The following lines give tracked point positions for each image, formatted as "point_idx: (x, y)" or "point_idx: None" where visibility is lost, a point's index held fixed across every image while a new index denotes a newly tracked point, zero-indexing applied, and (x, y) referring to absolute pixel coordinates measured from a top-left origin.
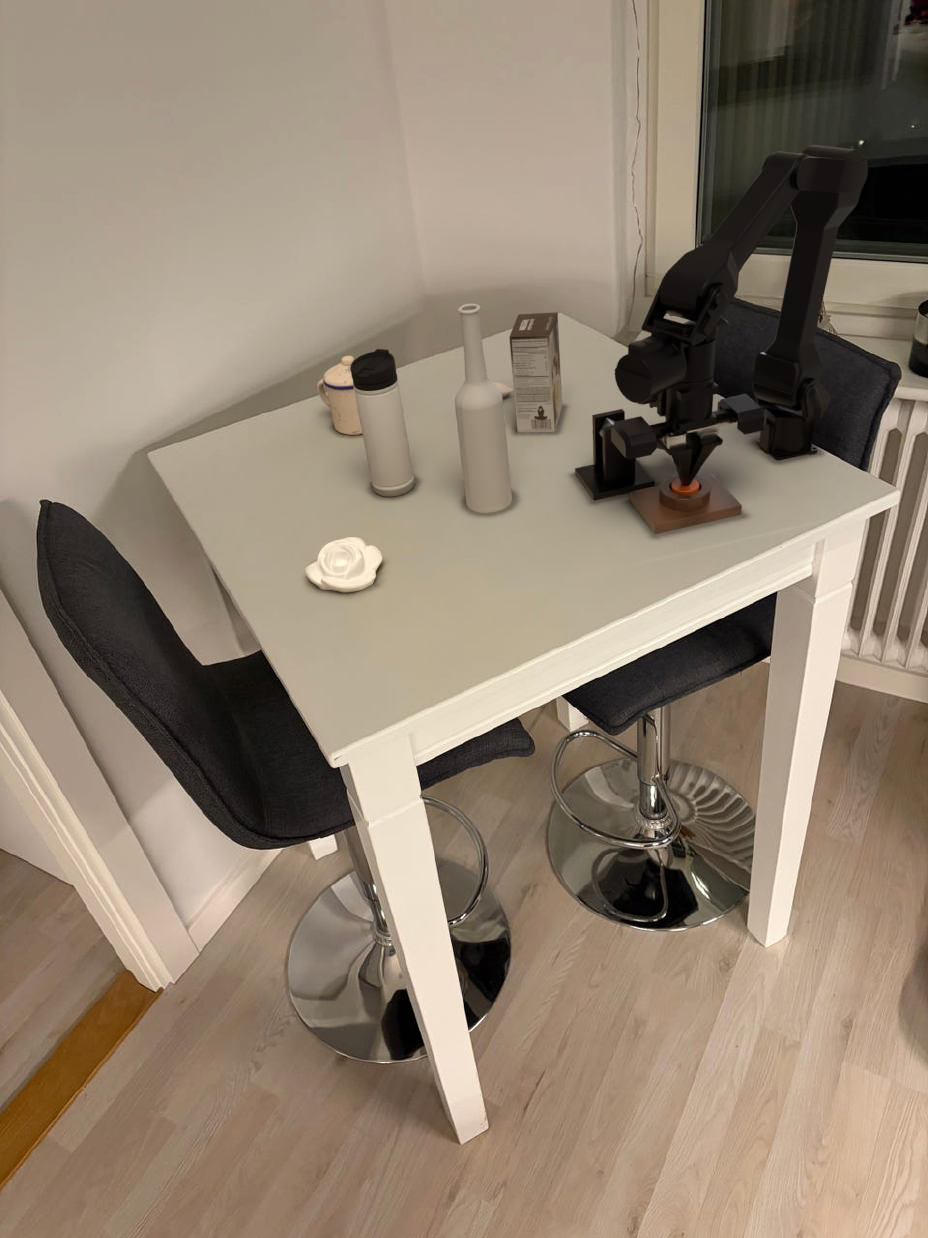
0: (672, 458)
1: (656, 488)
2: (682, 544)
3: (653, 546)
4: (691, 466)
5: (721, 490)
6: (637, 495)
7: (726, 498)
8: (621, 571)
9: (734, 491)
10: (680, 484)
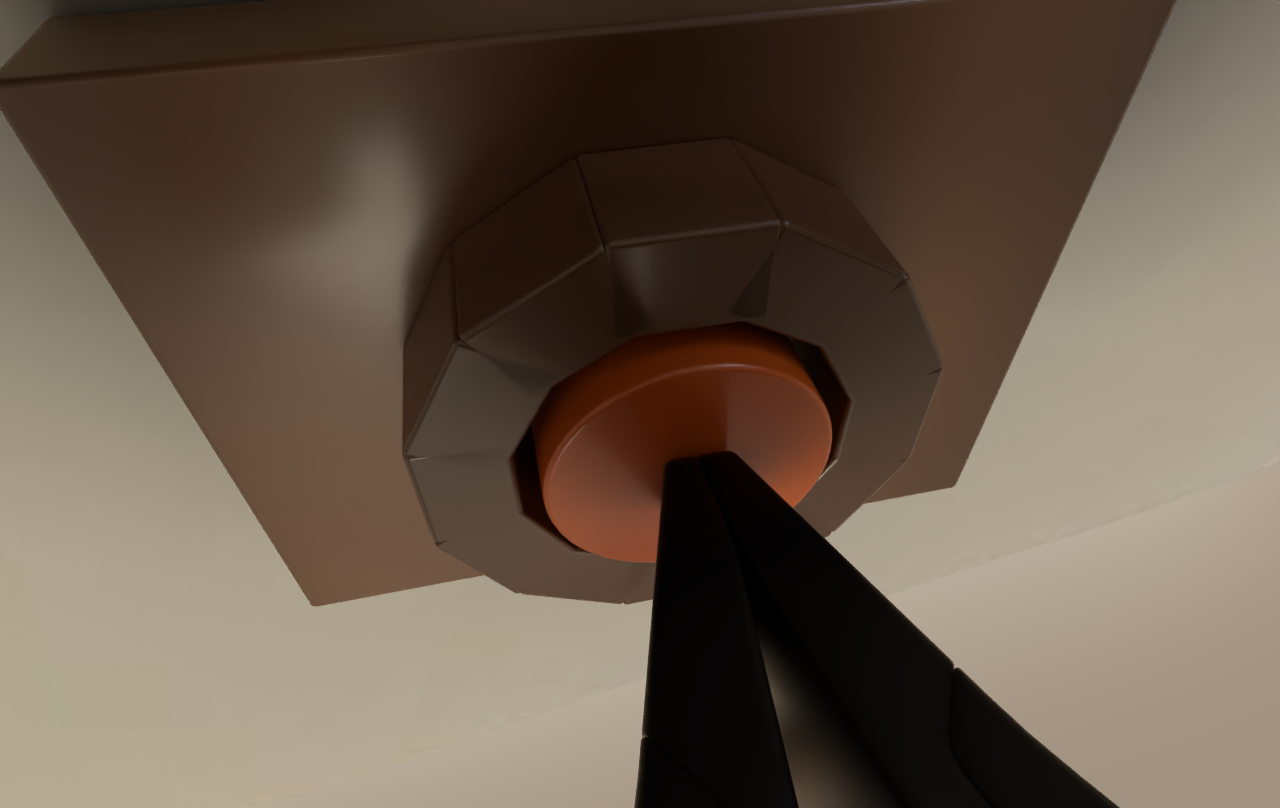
0: (637, 782)
1: (418, 114)
2: (477, 589)
3: (295, 597)
4: (793, 770)
5: (991, 317)
6: (127, 213)
7: (937, 412)
8: (88, 727)
9: (1130, 139)
10: (645, 474)
